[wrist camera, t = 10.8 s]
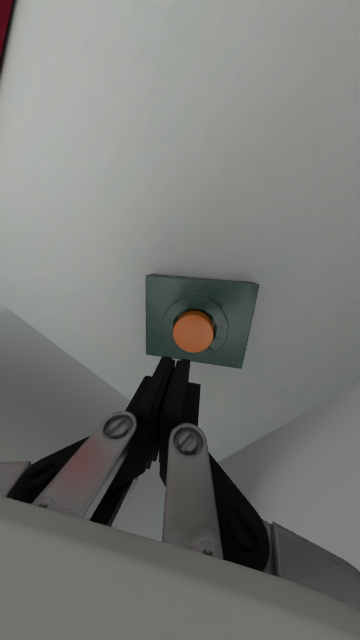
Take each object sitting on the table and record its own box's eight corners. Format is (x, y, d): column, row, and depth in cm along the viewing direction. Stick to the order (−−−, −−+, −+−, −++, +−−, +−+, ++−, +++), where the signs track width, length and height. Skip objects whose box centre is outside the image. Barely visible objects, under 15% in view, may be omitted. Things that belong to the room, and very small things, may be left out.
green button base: (254, 282, 19) (264, 286, 16) (238, 359, 23) (244, 378, 19) (152, 274, 21) (139, 276, 17) (151, 346, 24) (140, 362, 20)
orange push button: (215, 312, 17) (216, 317, 16) (210, 347, 19) (210, 355, 17) (177, 308, 18) (173, 312, 16) (175, 342, 19) (171, 349, 18)
